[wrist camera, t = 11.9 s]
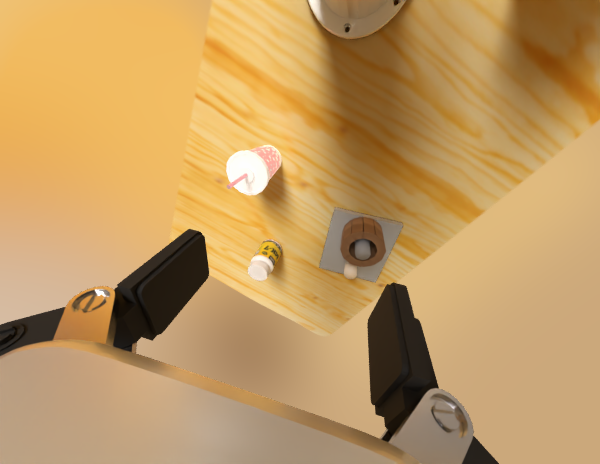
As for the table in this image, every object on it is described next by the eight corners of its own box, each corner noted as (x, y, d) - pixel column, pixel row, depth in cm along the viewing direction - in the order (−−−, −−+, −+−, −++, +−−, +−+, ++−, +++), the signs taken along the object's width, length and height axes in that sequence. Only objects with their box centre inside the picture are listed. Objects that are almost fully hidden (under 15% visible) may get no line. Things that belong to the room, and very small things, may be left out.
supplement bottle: (286, 248, 47) (274, 275, 40) (274, 259, 49) (261, 286, 42) (269, 234, 46) (253, 259, 39) (258, 246, 48) (241, 272, 41)
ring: (348, 213, 38) (347, 227, 34) (388, 222, 37) (392, 238, 33) (338, 244, 42) (336, 260, 38) (374, 253, 41) (376, 271, 37)
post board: (334, 207, 39) (330, 226, 33) (401, 222, 38) (410, 246, 32) (319, 263, 47) (314, 288, 41) (375, 278, 46) (377, 305, 40)
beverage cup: (268, 183, 39) (231, 218, 28) (245, 155, 38) (195, 181, 26) (293, 162, 36) (263, 192, 25) (269, 131, 35) (224, 148, 23)
